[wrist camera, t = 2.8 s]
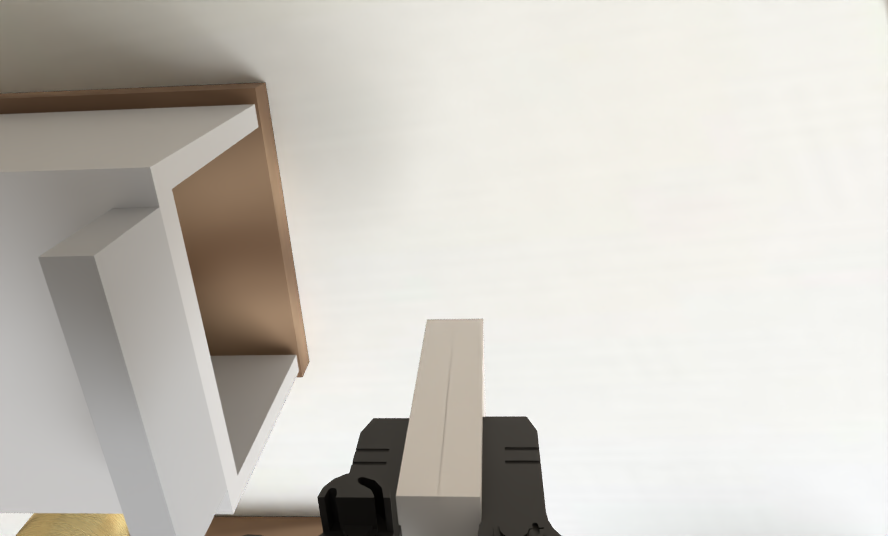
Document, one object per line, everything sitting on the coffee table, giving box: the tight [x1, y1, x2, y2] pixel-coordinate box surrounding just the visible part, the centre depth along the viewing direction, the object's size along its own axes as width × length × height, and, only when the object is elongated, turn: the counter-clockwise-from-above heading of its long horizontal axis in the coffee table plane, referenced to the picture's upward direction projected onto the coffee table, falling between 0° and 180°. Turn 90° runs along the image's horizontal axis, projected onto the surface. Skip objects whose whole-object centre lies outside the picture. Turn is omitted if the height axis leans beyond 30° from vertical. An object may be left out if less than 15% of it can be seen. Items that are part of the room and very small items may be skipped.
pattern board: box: [0, 83, 309, 377], centre depth 25 cm, size 12×20×5 cm, turn 93°
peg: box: [16, 513, 130, 536], centre depth 28 cm, size 4×4×8 cm
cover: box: [0, 104, 299, 536], centre depth 21 cm, size 11×10×11 cm
